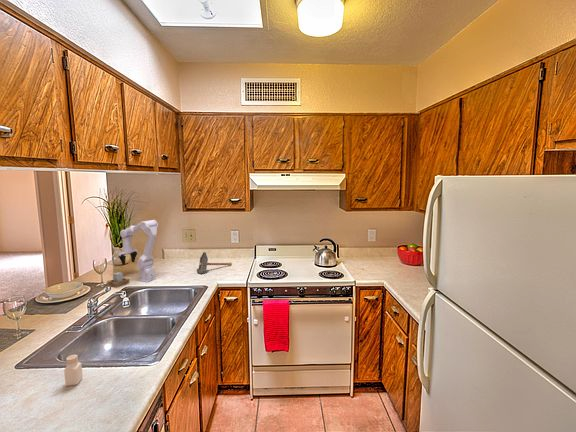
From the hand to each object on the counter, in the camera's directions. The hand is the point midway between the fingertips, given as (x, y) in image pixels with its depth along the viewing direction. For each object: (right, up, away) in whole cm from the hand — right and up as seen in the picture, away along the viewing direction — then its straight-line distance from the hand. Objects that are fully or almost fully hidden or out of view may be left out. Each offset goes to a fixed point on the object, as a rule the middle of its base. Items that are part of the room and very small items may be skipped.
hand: (128, 263), depth 216 cm
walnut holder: (+2, -12, -16) cm, 20 cm away
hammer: (+60, -8, +18) cm, 64 cm away
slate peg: (+2, -12, -16) cm, 20 cm away
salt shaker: (+43, -24, -113) cm, 123 cm away
